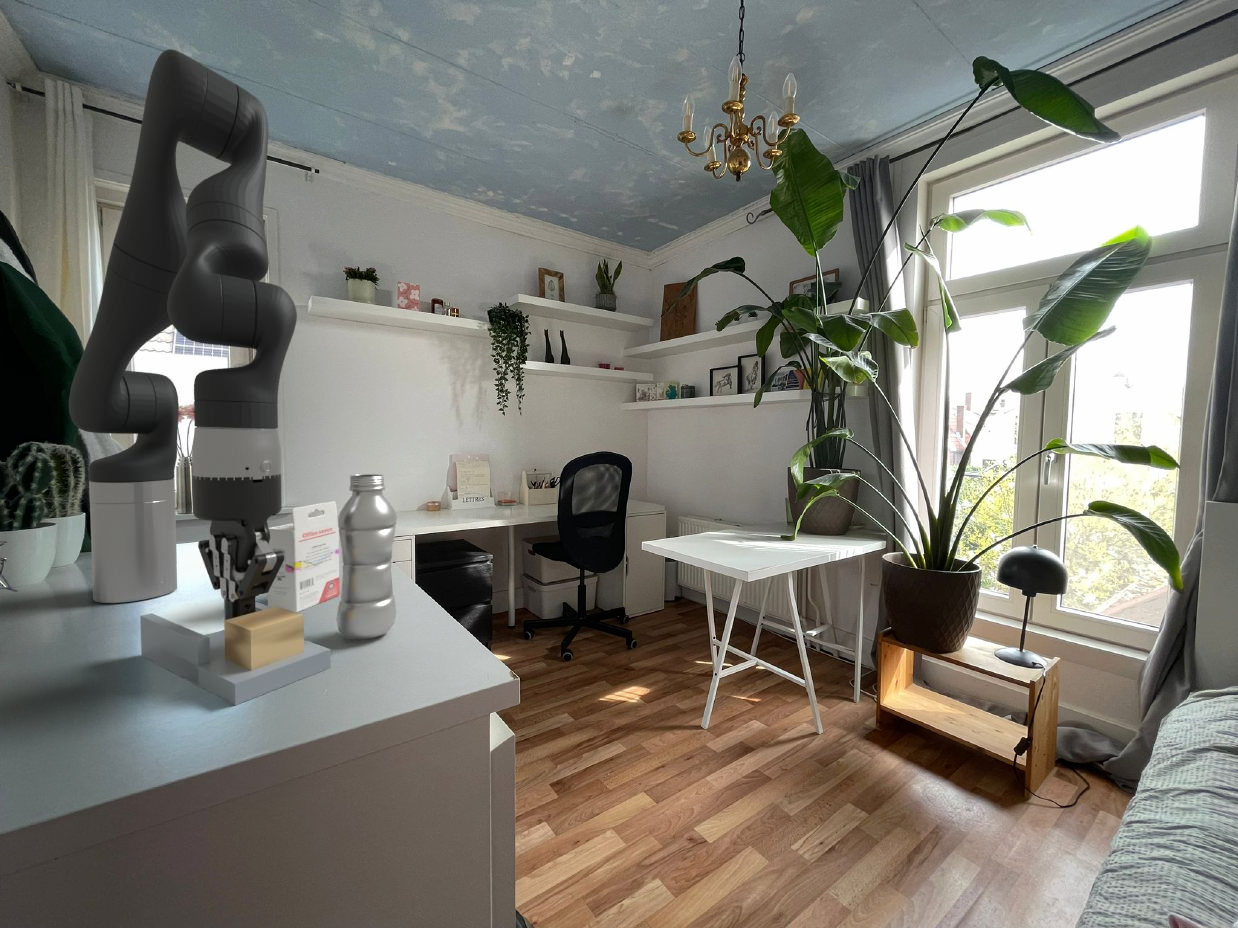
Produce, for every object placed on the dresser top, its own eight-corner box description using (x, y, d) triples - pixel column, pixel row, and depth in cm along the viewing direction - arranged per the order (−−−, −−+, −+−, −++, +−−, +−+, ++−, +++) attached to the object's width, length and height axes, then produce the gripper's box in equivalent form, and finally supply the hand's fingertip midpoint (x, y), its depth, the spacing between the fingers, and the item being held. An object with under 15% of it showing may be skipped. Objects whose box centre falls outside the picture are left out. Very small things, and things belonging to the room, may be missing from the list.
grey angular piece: (141, 655, 57) (140, 615, 56) (233, 629, 65) (233, 594, 64) (235, 705, 47) (234, 657, 47) (330, 667, 55) (330, 626, 55)
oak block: (225, 658, 52) (224, 620, 52) (277, 641, 56) (276, 606, 56) (251, 670, 50) (250, 630, 49) (303, 652, 54) (303, 615, 54)
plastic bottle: (328, 635, 64) (327, 474, 62) (384, 621, 69) (383, 472, 67) (348, 651, 59) (347, 478, 58) (405, 635, 64) (405, 476, 63)
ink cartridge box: (313, 592, 80) (312, 498, 79) (340, 595, 79) (340, 500, 78) (264, 610, 72) (263, 506, 71) (295, 614, 71) (294, 508, 70)
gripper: (165, 468, 54) (169, 630, 55) (230, 477, 48) (233, 659, 49) (245, 465, 60) (247, 609, 62) (311, 473, 54) (312, 633, 55)
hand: (241, 631), depth 55 cm, fingers closed
